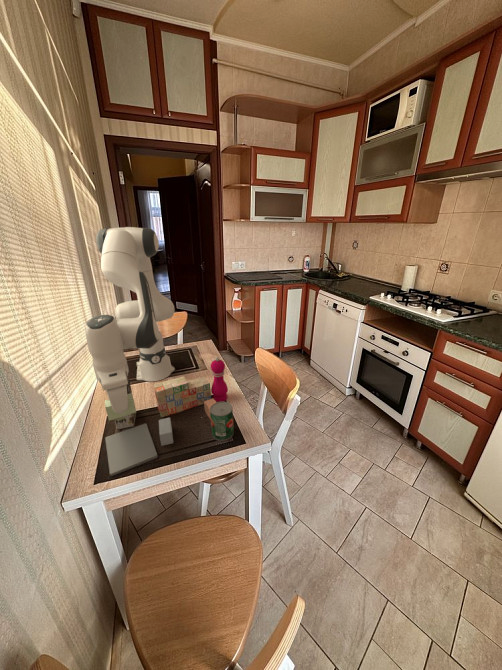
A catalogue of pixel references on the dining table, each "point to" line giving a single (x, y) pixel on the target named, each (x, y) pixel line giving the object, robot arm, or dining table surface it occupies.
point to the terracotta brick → (208, 405)
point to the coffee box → (128, 419)
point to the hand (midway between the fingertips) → (121, 408)
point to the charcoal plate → (129, 449)
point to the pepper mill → (218, 381)
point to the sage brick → (113, 415)
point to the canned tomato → (222, 420)
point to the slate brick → (165, 431)
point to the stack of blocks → (181, 394)
